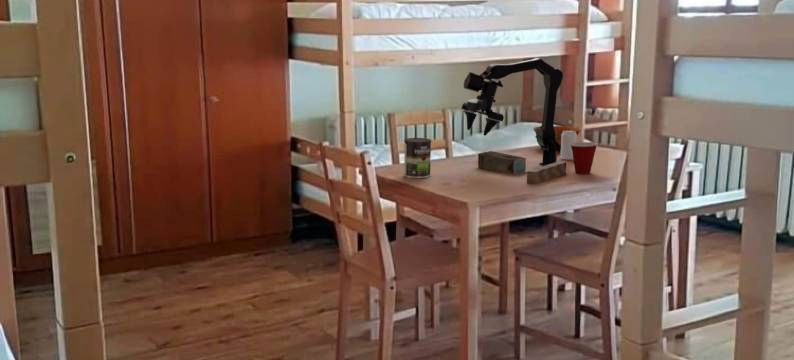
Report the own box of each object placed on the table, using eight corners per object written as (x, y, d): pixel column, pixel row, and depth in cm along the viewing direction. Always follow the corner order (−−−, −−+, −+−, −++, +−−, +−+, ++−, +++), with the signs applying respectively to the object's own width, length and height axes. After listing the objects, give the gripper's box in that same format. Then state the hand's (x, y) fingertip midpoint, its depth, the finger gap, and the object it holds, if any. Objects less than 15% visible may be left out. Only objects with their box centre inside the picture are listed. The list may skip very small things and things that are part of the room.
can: (577, 158, 352) (579, 130, 350) (572, 160, 347) (573, 132, 344) (563, 156, 356) (565, 129, 353) (558, 159, 350) (559, 131, 348)
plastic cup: (578, 168, 330) (579, 139, 327) (601, 172, 322) (603, 142, 319) (562, 172, 322) (564, 142, 320) (586, 176, 315) (587, 146, 312)
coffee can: (435, 177, 313) (436, 140, 310) (411, 179, 308) (412, 142, 305) (422, 172, 322) (422, 136, 319) (399, 174, 317) (399, 138, 314)
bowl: (537, 144, 388) (538, 123, 386) (583, 147, 380) (584, 126, 378) (528, 151, 369) (529, 129, 366) (575, 154, 361) (576, 132, 359)
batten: (559, 172, 323) (559, 161, 322) (565, 173, 321) (566, 162, 320) (526, 183, 303) (527, 171, 302) (533, 184, 301) (534, 172, 300)
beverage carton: (513, 175, 318) (513, 158, 317) (476, 168, 332) (477, 152, 330) (526, 172, 323) (526, 156, 322) (489, 165, 337) (489, 149, 336)
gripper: (458, 86, 327) (446, 123, 329) (491, 96, 313) (479, 135, 316) (476, 91, 334) (465, 128, 337) (509, 101, 321) (498, 139, 323)
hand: (476, 132), depth 328 cm, fingers open, 9 cm apart
